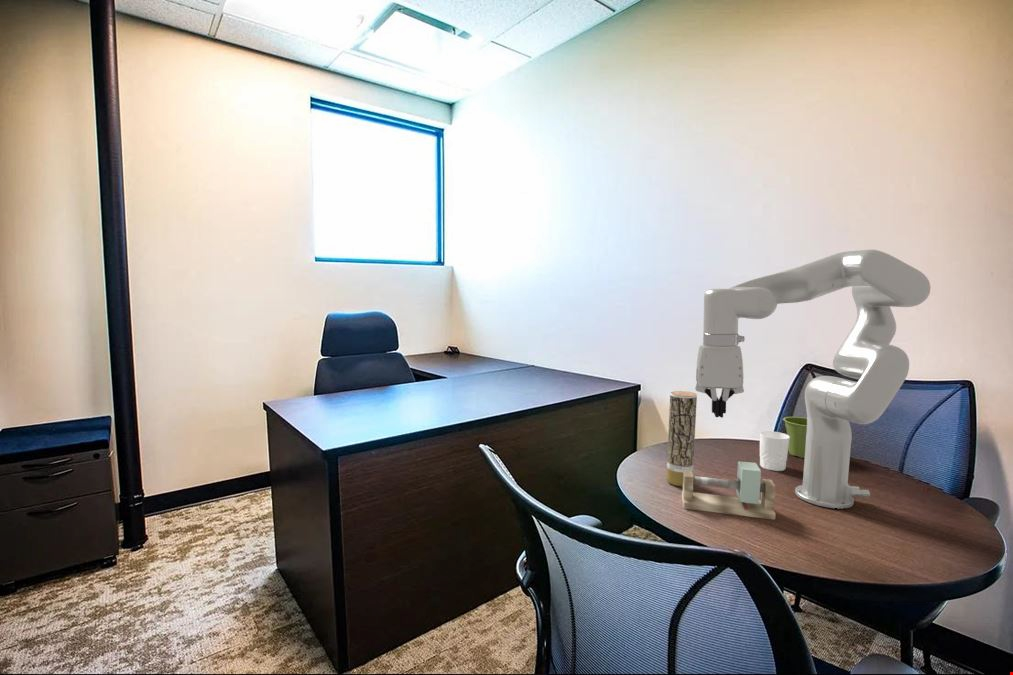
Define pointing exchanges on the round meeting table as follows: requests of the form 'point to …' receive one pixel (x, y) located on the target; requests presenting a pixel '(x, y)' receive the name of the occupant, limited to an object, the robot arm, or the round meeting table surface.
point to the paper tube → (681, 435)
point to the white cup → (773, 450)
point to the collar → (748, 482)
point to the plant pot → (796, 435)
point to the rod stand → (727, 497)
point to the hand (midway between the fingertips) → (718, 415)
